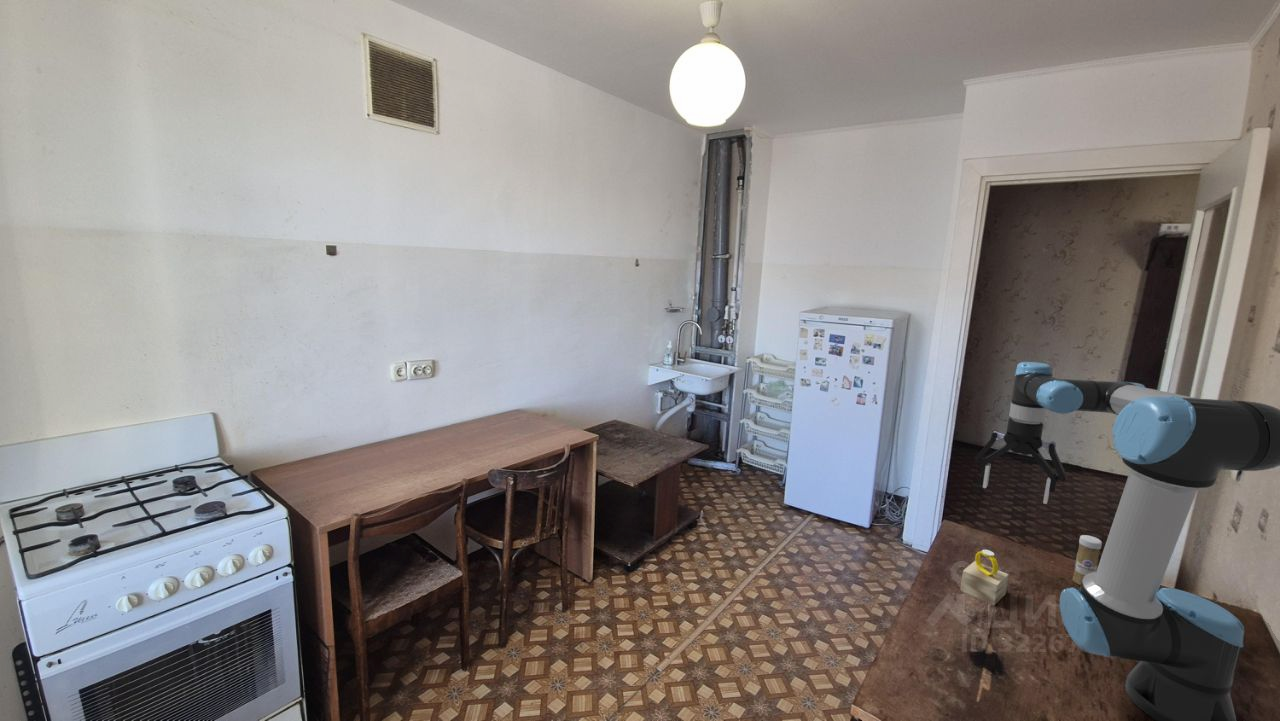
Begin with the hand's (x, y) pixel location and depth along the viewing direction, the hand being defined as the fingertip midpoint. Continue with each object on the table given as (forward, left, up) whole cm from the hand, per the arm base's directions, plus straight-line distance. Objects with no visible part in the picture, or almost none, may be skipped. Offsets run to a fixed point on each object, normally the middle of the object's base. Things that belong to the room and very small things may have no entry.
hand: (1014, 494), depth 141 cm
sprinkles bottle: (-16, -13, -25) cm, 32 cm away
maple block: (+2, +12, -25) cm, 28 cm away
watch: (+2, +12, -19) cm, 23 cm away
